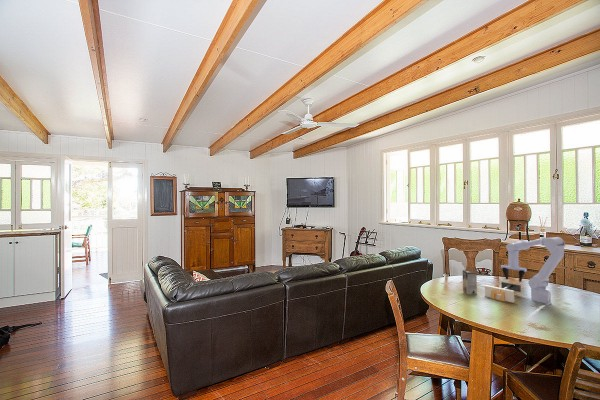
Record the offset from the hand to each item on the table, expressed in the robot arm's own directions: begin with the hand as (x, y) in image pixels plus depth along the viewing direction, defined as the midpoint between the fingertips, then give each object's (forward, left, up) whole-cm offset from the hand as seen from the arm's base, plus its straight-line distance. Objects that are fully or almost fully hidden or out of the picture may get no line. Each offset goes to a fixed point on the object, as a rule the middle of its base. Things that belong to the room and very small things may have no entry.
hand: (513, 280), depth 200 cm
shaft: (+1, +9, -7) cm, 11 cm away
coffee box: (+19, +22, -11) cm, 31 cm away
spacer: (+1, +24, -11) cm, 26 cm away
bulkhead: (+1, +22, -10) cm, 24 cm away
